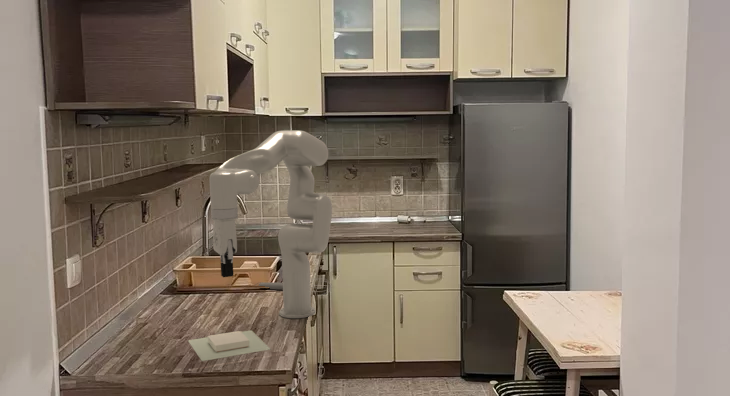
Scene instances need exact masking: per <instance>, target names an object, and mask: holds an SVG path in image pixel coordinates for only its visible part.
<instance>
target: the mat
mask: <svg viewBox="0 0 730 396" xmlns="http://www.w3.org/2000/svg"><path fill="white" fill-rule="evenodd" d="M241 332H242V333H243V334H244V335H245V336H246V337H247V338H248V339H249V346H248V347H244V348H238V349H232V350H226V351H220V352H215V350H214V349H213V348H212V346H211V345H210V344H209V342H208V336H207V337H200V338H195V339H189V340H188V339H187V342H188V343H189V345H190V346H191V348H192V349H193V351H194V352H195V353H196V355H197V356H198V358H199V359H200V361H201V362H206V361H211V360H216V359H217V360H218V359H224V358H228V357H235V356H240V355H246V354H251V353H252V354H253V353H257V352H263V351H268V350H271V348H270V346H269V345H267V344H266V342H264V341H263V340H262V339H261V337H259V336H258V335H257V334H256V333H255V332H254V331H253V330H251V329H250V330H244V331H241Z"/></svg>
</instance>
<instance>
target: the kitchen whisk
mask: <svg viewBox="0 0 730 396" xmlns="http://www.w3.org/2000/svg"><path fill="white" fill-rule="evenodd" d="M314 280H319V283H323V282H325V283H327V284H329V285H328V290H327V289H325V290H324V293H322V294H320V296H321V295H326V294H328V293H330V292H331V289H332V288H333V287H332V286H333V285H332V283H331V282H330V281H328V279H326V278H325V279H324V278H323V277H322V278H321V277H317V278H316V277H315V278H314ZM311 283H313V281H312V278H310V284H311ZM256 285H258V287H259V286H265V287H269V288H270V289H269V290H283V282H257V283H256ZM318 286H321V287H322V286H323V287H324V286H325V287H326V285H323V284H321V285H320V284H318ZM311 288H315V289H317V286H316V287H313V286H312V287H311V286H310V289H311ZM326 291H327V292H326ZM313 292H315V293H317V292H323V290H322V291H321V290H319V291H316V290H314V291H313V290H311V293H313Z"/></svg>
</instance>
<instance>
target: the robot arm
mask: <svg viewBox="0 0 730 396" xmlns="http://www.w3.org/2000/svg"><path fill="white" fill-rule="evenodd" d="M328 159H329V149H328V147H327V144H326V143H325V142H324V141H323V140H321V139H320V138H318V137H316V136H314V135H313V134H310V133H309V132H307V131H304V130H298V129H297V130H290V129H289V130H277V131H274V132H273V133H272V134H270V135H269V136H268V137H266V139H265V140H264V141H262V142H261V143H260V144H259V145H257V147H255V148H254V149H251V150H248V151H245V152H243V153H241V154H238V155H236V156H234V157H231V158H229V159H227V160H226V161H225V162H223V163H222V164H221V165H220V166H219V167H218V168H217V169H216V170H215V171H214V172H212V173H211V172H210V173H211V174H210V175H209V194H210V199H209V200H210V215H211V216H210V217H211V221H213V223H212V224H213V227H212V232H213V233H212V239H213V240H212V246H213V247H212V248H213V251H214V252H215V253H217V254H218V255H219V259H220V276H221V277H222V278H230V277H234V254H237V251H238V240H237V239H238V238H237V225H236V220H238V219H239V213H238V195H251V194H252V193H255V192H256V191H257V190H258V188H259V186H260V177H259V176H258V175H261V174H265V173H267V172H268V173H269V172H271V171H273V170H274V168H276V167H277V166H278V165H279V164H280V163H281V162H282V161H283V164H284V165H285V167H286V168H287V171H288V173H289V179H290V180H289V190H288V197H287V203H286V204H287V205H286V214H287V216H288V217H289V218H290V219H292V220H296V221H311V222H312V224H306V223H286V224H285V225H283V226H281V228H280V229H279V230H278V236H277V239H278V244H279V248H280V254H281V265H282V266H281V267H282V269H281V270H282V273H281V274H282V283H283V289H282V297H283V299H282V301H283V307H282V308H280V309H279V312H278V313H279V314H278V315H279V316H281V317H282V318H286V319H305V318H308V317H312V316H314V315H315V314H316V312H317V311H316V308H315V307H313V306H312V300H311V299H312V298H311V294H312V290H311V288H310V287H311V283H310V282H311V280H310V279H311V264H310V260H309V257H308V255H307V254H306V253H310V254H320V253H324V252H325V250H326V249H327V247H328V243H329V239H330V232H331V223H332V216H333V205H332V201H331V199H330V197H329V196H328V195H326V194H323V193H316V192H314V191H315V176H314V174H313V173H312V170H311V169H310V167H317V166H318V167H319V166H320V167H321V166H323V165H324V164H326V162H327V161H328Z"/></svg>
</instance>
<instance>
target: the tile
mask: <svg viewBox="0 0 730 396" xmlns="http://www.w3.org/2000/svg"><path fill="white" fill-rule="evenodd" d="M242 332H243V331H241V330H238V331H237V330H235V331H232V332H231V331H230V332H225V333H224V332H223V333H217V334H211V335H207V337H208V342H209V344H210V345H211V346H212V348H213V349H214V350H215V352H220V351H226V350H232V349H238V348H244V347H248V346H249V339H248V338H247V337H246V336H245V335H244V334H243V333H242Z"/></svg>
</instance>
